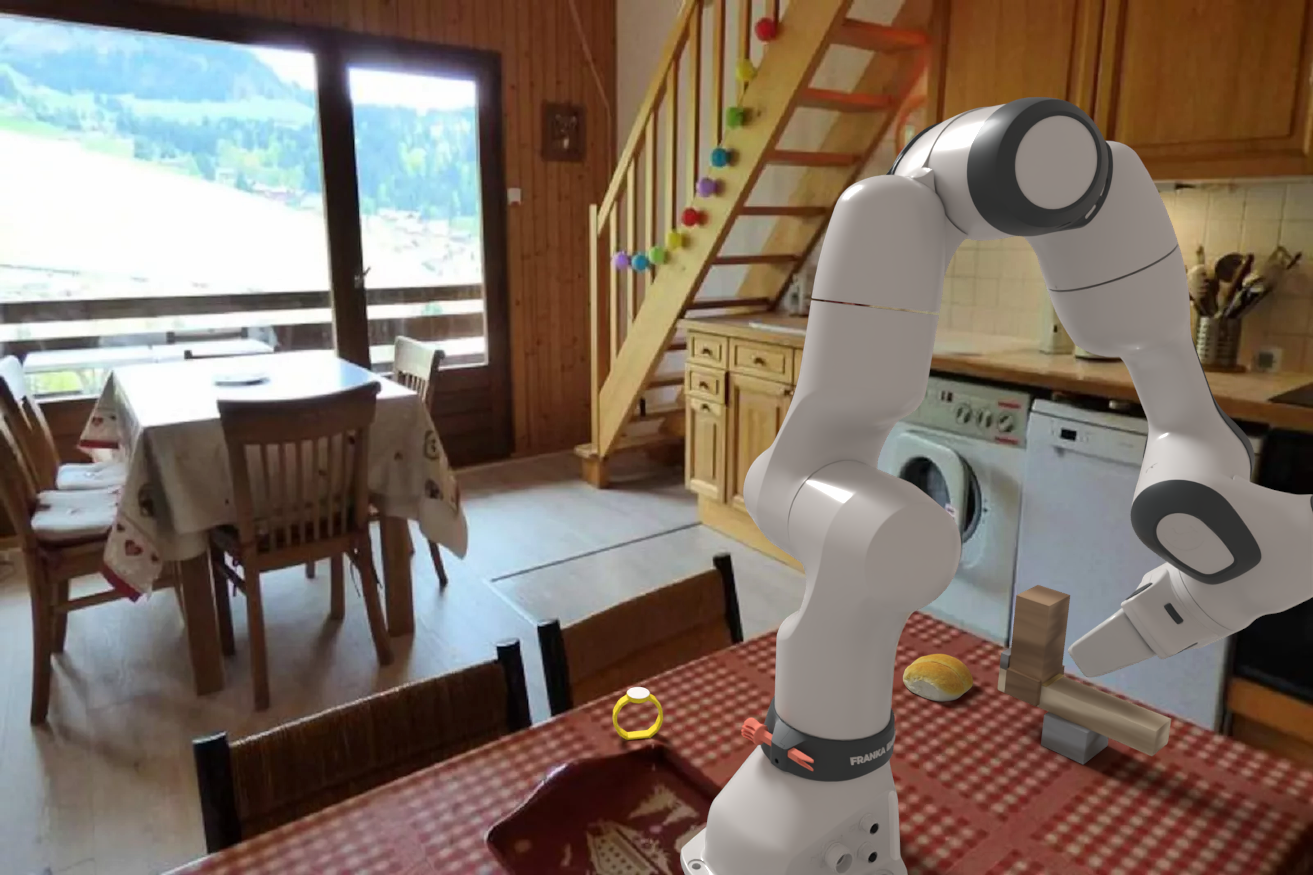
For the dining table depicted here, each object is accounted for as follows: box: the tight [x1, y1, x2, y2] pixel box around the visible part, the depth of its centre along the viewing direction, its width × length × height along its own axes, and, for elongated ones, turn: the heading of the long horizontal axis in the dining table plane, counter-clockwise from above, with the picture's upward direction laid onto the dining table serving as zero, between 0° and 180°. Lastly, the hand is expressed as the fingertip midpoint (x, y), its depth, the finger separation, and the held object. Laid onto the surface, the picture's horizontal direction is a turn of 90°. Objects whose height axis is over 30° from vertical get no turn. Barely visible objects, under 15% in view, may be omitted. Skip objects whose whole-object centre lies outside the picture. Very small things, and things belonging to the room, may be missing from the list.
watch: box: [612, 686, 664, 741], centre depth 103 cm, size 6×3×6 cm, turn 100°
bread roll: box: [902, 653, 974, 702], centre depth 115 cm, size 8×9×4 cm
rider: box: [1003, 584, 1071, 707], centre depth 103 cm, size 6×4×13 cm, turn 128°
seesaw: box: [997, 647, 1172, 765], centre depth 100 cm, size 6×18×9 cm, turn 38°
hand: (1083, 654), depth 99 cm, fingers closed
